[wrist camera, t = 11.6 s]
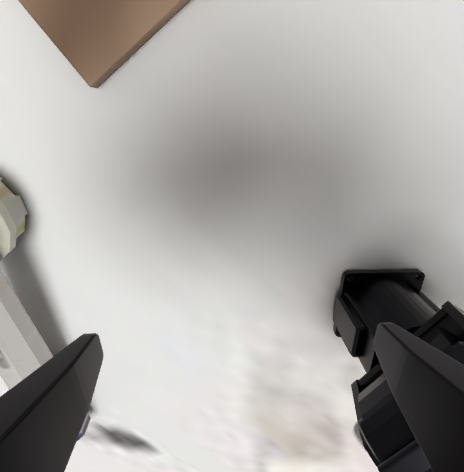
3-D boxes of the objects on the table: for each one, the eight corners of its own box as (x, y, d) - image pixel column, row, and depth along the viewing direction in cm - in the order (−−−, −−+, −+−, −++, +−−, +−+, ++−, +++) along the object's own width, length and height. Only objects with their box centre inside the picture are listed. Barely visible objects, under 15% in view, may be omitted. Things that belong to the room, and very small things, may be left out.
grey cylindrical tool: (29, 454, 26) (-196, 209, 13) (64, 384, 32) (-70, 165, 19) (86, 451, 26) (-84, 202, 13) (110, 382, 32) (8, 160, 19)
